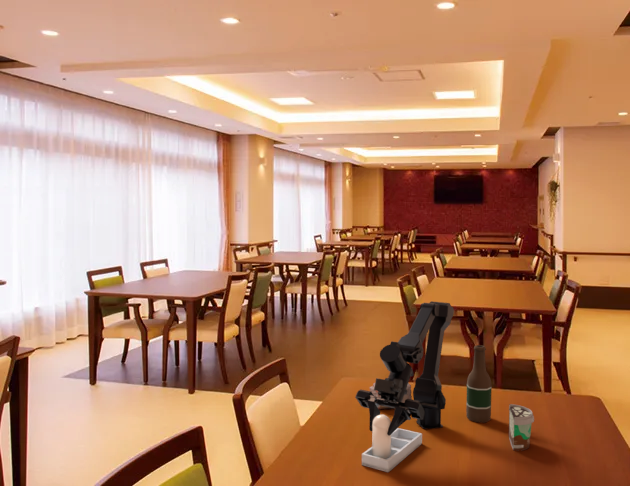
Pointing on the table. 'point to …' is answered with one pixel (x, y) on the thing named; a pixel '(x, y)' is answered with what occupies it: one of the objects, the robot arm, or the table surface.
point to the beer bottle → (479, 389)
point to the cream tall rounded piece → (381, 437)
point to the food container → (520, 426)
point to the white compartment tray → (394, 450)
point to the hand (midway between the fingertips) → (379, 432)
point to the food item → (375, 393)
